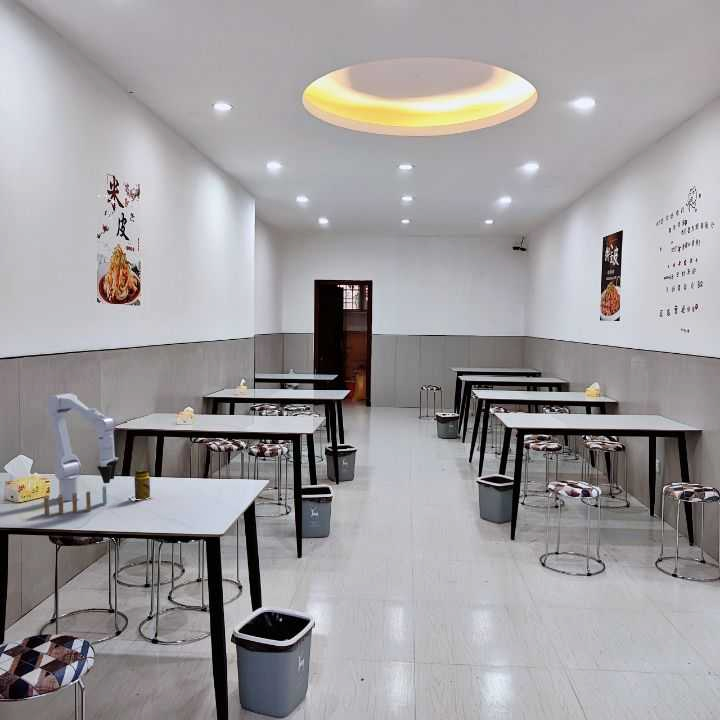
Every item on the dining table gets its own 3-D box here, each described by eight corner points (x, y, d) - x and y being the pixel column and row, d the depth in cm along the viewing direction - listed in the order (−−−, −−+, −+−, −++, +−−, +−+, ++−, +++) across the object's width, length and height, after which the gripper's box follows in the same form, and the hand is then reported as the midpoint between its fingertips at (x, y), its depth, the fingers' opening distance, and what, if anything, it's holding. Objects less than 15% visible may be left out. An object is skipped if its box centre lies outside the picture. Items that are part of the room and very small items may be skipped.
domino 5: (103, 502, 289) (102, 485, 289) (106, 502, 290) (106, 485, 289) (103, 505, 285) (102, 488, 285) (106, 505, 286) (106, 487, 285)
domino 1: (45, 513, 275) (44, 495, 274) (49, 512, 275) (48, 495, 275) (44, 516, 271) (44, 498, 270) (48, 515, 271) (48, 497, 271)
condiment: (153, 498, 294) (152, 470, 294) (132, 502, 290) (131, 473, 289) (148, 495, 301) (147, 467, 300) (127, 498, 296) (126, 470, 295)
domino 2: (59, 511, 276) (58, 494, 276) (63, 511, 277) (62, 493, 276) (58, 514, 272) (58, 497, 272) (62, 514, 273) (62, 496, 272)
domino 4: (86, 509, 280) (86, 491, 279) (90, 508, 280) (90, 491, 280) (86, 512, 276) (86, 494, 275) (90, 511, 276) (89, 494, 276)
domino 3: (73, 510, 278) (72, 493, 278) (77, 510, 279) (76, 492, 278) (72, 513, 274) (72, 495, 274) (76, 513, 274) (76, 495, 274)
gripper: (112, 449, 278) (115, 484, 278) (120, 444, 292) (122, 476, 293) (94, 451, 277) (96, 485, 278) (103, 445, 291) (105, 477, 292)
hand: (108, 481), depth 285 cm, fingers open, 7 cm apart
